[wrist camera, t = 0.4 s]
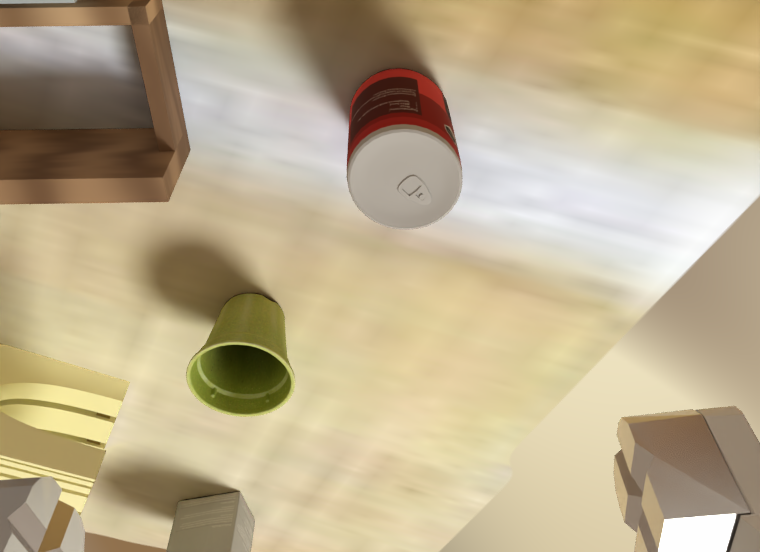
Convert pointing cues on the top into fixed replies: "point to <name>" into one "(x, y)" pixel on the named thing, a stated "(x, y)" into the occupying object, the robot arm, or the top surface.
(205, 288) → the top surface
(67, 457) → the slatted curved stool
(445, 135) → the canned food
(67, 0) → the cabinet block
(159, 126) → the brown wooden frame
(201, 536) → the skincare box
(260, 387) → the plant pot
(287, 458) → the top surface
